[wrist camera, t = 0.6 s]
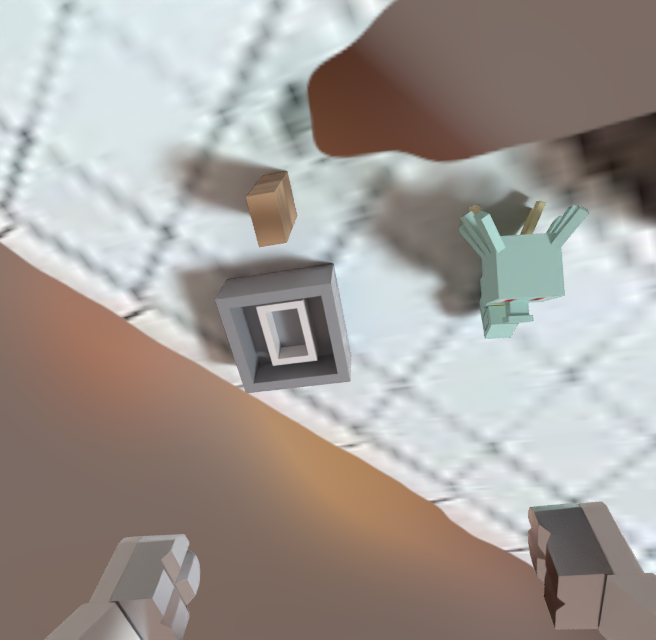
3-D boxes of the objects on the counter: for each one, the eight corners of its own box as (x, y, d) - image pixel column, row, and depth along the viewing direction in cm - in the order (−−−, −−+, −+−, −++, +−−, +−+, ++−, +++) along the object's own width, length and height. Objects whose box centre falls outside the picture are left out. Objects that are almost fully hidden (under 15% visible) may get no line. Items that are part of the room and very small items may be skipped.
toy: (467, 337, 53) (460, 354, 39) (461, 216, 52) (451, 189, 38) (569, 333, 50) (601, 351, 35) (563, 205, 49) (594, 170, 35)
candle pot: (226, 279, 52) (214, 299, 48) (333, 263, 50) (330, 283, 46) (254, 367, 58) (245, 393, 53) (351, 356, 56) (350, 381, 52)
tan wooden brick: (262, 175, 46) (245, 196, 39) (287, 171, 46) (274, 191, 39) (273, 219, 48) (259, 247, 41) (297, 215, 48) (286, 242, 41)
